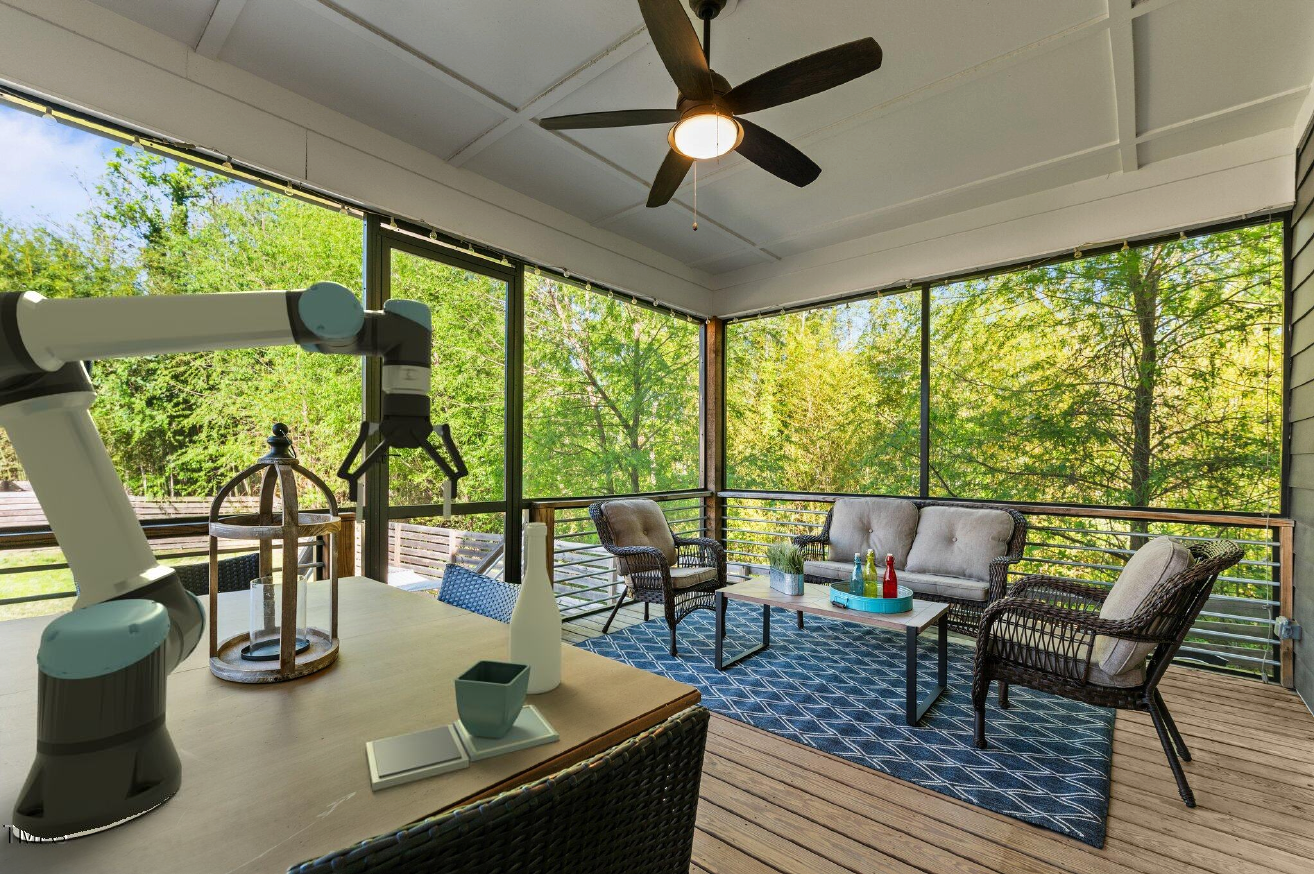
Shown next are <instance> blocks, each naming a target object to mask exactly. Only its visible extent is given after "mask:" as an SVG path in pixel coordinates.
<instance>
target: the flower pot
mask: <svg viewBox="0 0 1314 874" xmlns="http://www.w3.org/2000/svg"><path fill="white" fill-rule="evenodd" d="M530 668H531V665H528V664H520V663H509V661H507V662H506V661H498V660H488V659H480V660H478V661H476V662H475V663H474V664H472V665H471V666H470V667H469V668H467V669H466V670H465V671H463V672H462V673H461V674H459V675H458V676H457V677H455V679H454V689H455V700H456V701H455V702H456V708H457V714H458V717H459V720H461V722H462V724H463V726H464V728H465V729H466V730H467V732H468V733H469V734H470V735H474V736H483V737H491V738H501V737H503V735H504V734H505V733H506V732H507V731H508V730H509V729H510V727H511V726H512V725H513V724H514V723H515V721H516V719H517V717H518V716H519V714H520V712H521V709H522V707H523V706H525V701H526V698H527V695H528V694H527V688H528V682H529V675H530Z"/></svg>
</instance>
